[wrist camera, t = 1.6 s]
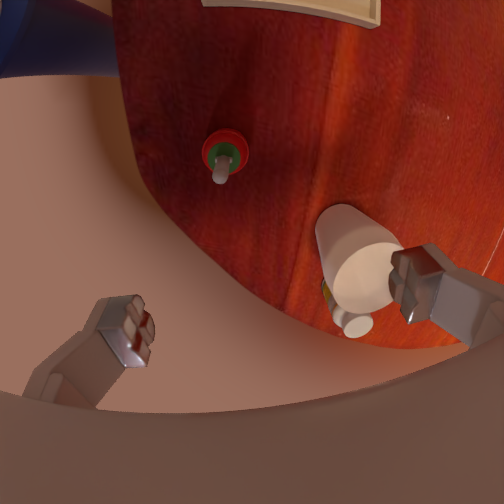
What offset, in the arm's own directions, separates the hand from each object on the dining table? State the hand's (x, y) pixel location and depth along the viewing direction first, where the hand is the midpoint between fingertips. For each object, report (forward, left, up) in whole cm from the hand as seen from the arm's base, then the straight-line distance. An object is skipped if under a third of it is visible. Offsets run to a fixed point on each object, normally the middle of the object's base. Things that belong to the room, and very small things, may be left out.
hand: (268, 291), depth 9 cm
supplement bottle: (+15, -19, -26) cm, 35 cm away
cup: (+13, -10, -26) cm, 30 cm away
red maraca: (-2, -1, -26) cm, 26 cm away
